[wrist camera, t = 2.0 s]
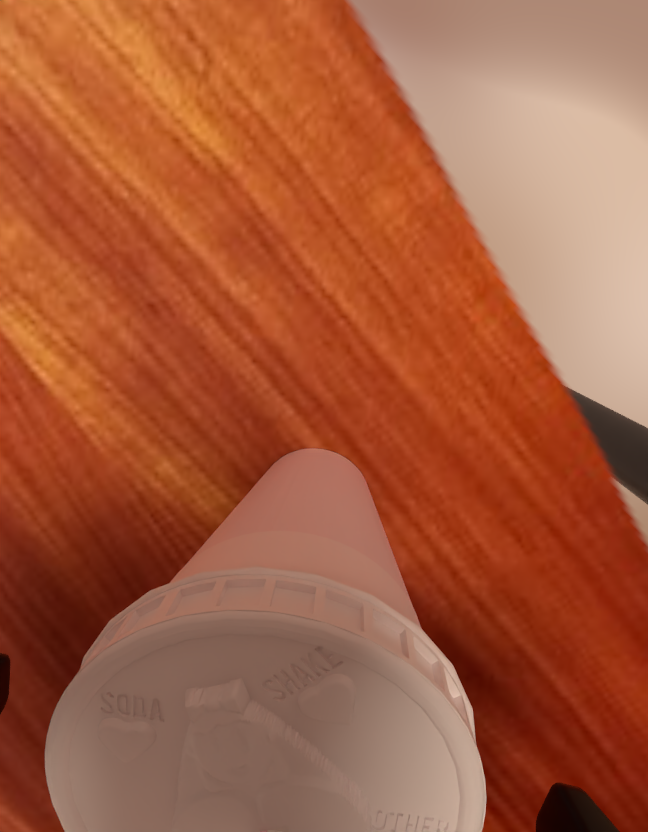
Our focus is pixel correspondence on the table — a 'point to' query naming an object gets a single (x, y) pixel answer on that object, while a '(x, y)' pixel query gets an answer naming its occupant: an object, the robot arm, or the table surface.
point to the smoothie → (271, 685)
